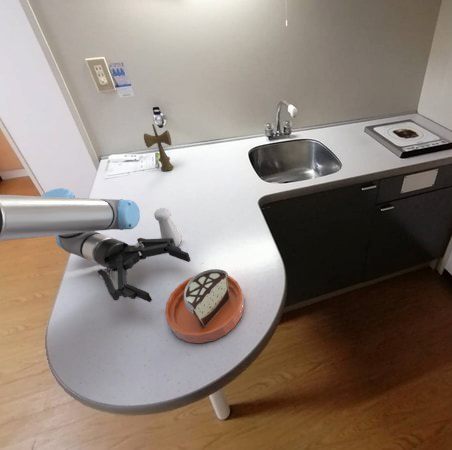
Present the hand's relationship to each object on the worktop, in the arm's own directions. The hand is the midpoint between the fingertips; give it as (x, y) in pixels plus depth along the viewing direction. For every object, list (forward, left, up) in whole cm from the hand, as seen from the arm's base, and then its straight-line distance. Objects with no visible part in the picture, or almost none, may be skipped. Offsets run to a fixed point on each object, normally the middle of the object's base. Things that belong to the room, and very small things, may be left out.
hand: (170, 276), depth 74 cm
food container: (0, -9, -9) cm, 12 cm away
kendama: (+52, +51, -9) cm, 74 cm away
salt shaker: (+16, +16, -9) cm, 25 cm away
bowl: (0, -9, -9) cm, 13 cm away
